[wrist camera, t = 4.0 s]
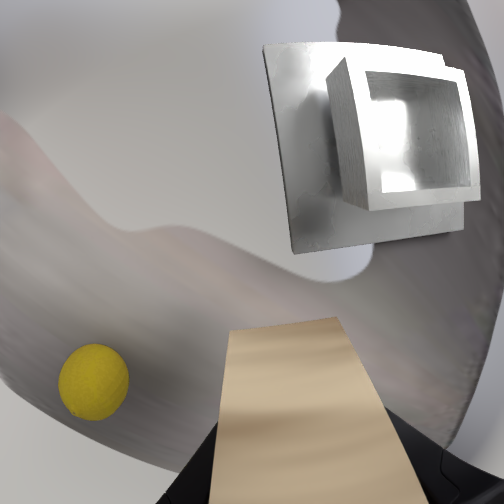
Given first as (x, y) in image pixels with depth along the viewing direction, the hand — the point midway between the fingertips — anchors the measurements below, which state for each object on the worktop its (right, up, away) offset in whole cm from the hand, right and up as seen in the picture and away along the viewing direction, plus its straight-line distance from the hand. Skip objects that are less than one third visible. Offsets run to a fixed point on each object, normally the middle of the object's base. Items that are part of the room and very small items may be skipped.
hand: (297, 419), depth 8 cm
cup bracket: (+7, +13, +10) cm, 18 cm away
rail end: (0, +1, +3) cm, 3 cm away
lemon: (-14, -4, +15) cm, 21 cm away
